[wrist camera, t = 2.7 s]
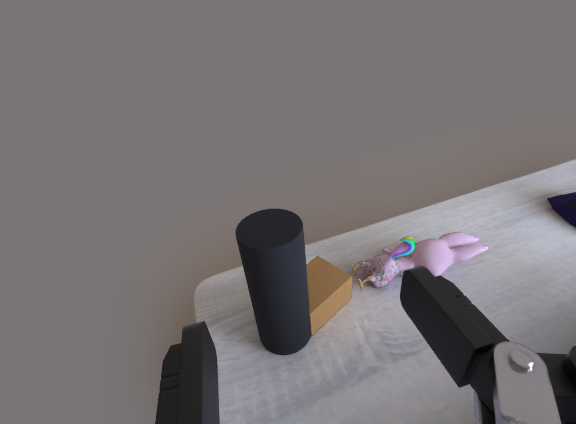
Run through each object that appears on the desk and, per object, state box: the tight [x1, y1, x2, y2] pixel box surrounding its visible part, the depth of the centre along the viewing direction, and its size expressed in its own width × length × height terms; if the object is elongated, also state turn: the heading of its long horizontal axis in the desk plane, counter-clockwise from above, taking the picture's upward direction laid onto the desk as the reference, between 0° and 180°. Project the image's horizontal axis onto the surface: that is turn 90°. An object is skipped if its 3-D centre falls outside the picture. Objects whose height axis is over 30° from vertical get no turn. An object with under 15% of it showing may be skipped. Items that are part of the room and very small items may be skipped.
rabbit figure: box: [351, 232, 488, 292], centre depth 34 cm, size 6×6×15 cm
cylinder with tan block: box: [236, 209, 352, 355], centre depth 28 cm, size 10×5×13 cm, turn 133°
